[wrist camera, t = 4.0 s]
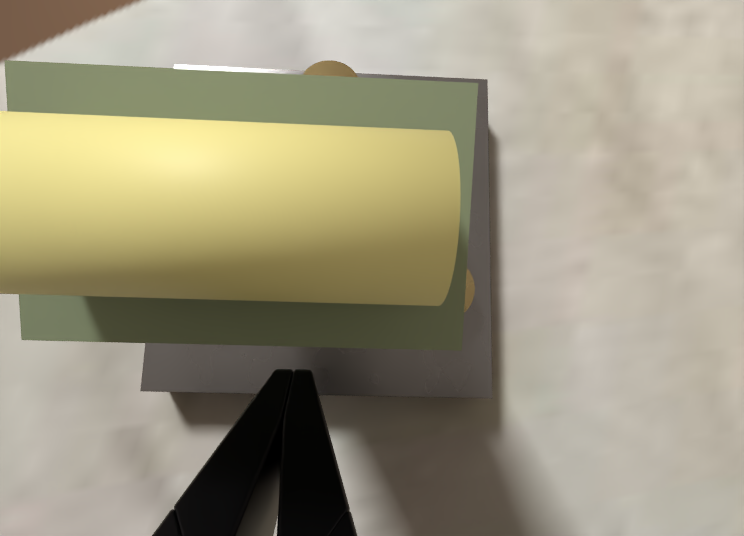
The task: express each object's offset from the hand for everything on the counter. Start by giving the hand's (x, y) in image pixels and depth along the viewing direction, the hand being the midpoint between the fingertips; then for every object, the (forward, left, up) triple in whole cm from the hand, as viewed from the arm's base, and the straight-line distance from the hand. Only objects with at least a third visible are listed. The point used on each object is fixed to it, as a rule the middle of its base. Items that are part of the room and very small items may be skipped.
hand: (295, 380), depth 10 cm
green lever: (+2, -5, -5) cm, 7 cm away
